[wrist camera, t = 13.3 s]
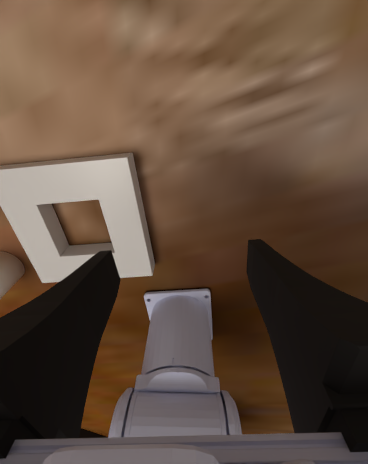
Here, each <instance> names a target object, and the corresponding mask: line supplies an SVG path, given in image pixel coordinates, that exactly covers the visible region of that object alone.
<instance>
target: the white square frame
mask: <svg viewBox="0 0 368 464" xmlns="http://www.w3.org/2000/svg"><path fill="white" fill-rule="evenodd" d="M97 199H99V202H100V205H101V208H102V212H103V215H104V218H105V221H106V225H107V228H108V231H109V235H110V238H111V241H112V242H111V243H98V244H85V245H72V246H69V244H68V241H67V239H66V237H65V234H64V232H63V230H62V227H61V225H60V222H59V220H58V218H57V215H56V213H55V210H54V208H53V206H52V203H63V202H74V201H86V200H97ZM0 206H1V208H2V210H3V211H4V213H5V215H6V217H7V219H8V221H9V222H10V224H11V226H12V228H13V230H14V232H15V233H16V235H17V237H18V239H19V241H20V243H21V244H22V246H23V248H24V250H25V252H26V254H27V255H28V257H29V259H30V261H31V263H32V265H33V266H34V268H35V270H36V272H37V274H38V276H39V277H40V279H41V281H42V283H48V282H60V281H61V280H63V279H64V278H66V277H67V276H68V275H70V274H71V273H72V272H73V271H75V270H76V269H77V268H79V267H80V266H81V265H82V264H84V263H85V262H86V261H87V260H89V259H90V258H91V257H92V256H94V255H95V254H96V253H98V252H99V251H107V250H111V251H112V254H113V257H114V260H115V264H116V267H117V270H118V273H119V276H120V278H124V277H139V276H153V271H154V266H155V261H154V256H153V252H152V247H151V242H150V237H149V232H148V227H147V222H146V217H145V212H144V207H143V202H142V197H141V192H140V187H139V182H138V177H137V172H136V167H135V162H134V157H133V153H122V154H112V155H102V156H92V157H82V158H72V159H62V160H52V161H42V162H32V163H22V164H12V165H1V166H0Z"/></svg>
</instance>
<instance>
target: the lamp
mask: <svg viewBox="0 0 368 464" xmlns="http://www.w3.org/2000/svg"><path fill="white" fill-rule="evenodd" d="M79 438H107V437H104V436H101V435H98V434H95V433H92V432H89V431H86V430H83V429H80V434H79Z"/></svg>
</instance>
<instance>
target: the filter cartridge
mask: <svg viewBox="0 0 368 464" xmlns="http://www.w3.org/2000/svg"><path fill="white" fill-rule="evenodd" d="M24 272H25V268H24V265H23V264H22V262H21V261H20V260H19V259H18V258H17V257H15V256H14V255H12V254H10V253H7V252H3V251H0V299H1V298H2V297H3V296H4V295H5V294H6V292H7V291H8V290H9V289H10V288H11V287H12V286H13V285H14V284H15V283H16V282H17V281H18V280H19V279H20V278H21V277H22V276H23V275H24Z"/></svg>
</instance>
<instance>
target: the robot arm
mask: <svg viewBox="0 0 368 464" xmlns="http://www.w3.org/2000/svg"><path fill="white" fill-rule="evenodd" d="M247 275H248V279H249V283H250V287H251V290H252V292H253V295H254V297H255V300H256V302H257V305H258V307H259V310H260V312H261V315H262V317H263V320H264V322H265V325H266V327H267V330H268V333H269V336H270V339H271V343H272V346H273V350H274V353H275V357H276V360H277V364H278V368H279V371H280V375H281V379H282V383H283V387H284V391H285V395H286V399H287V403H288V407H289V411H290V415H291V419H292V424H293V428H294V432H295V433H286V434H242V431H241V425H240V419H239V414H238V410H237V406H236V404H235V401H234V400H233V398H232V397H231V396H230V395H229V393H228V392H227V391H226V390H221V391H220V385H219V378H218V377H215V375H214V365H213V355H212V345H211V340H212V339H213V333H212V313H211V294H210V290H209V289H192V290H175V291H159V292H146V293H145V294H144V299H145V303H146V307H147V311H148V315H149V319H150V326H149V331H148V337H147V343H146V349H145V355H144V361H143V367H142V373H141V375H137V377H136V383H135V388H127V389H126V391H125V392H124V393H123V394H122V395H121V396H120V398H119V400H118V402H117V404H116V407H115V410H114V414H113V418H112V422H111V426H110V431H109V436H108V438H79V434H80V429H81V423H82V417H83V412H84V407H85V402H86V397H87V392H88V388H89V383H90V379H91V375H92V371H93V366H94V362H95V358H96V355H97V351H98V347H99V343H100V340H101V337H102V334H103V332H104V329H105V327H106V324H107V321H108V319H109V316H110V313H111V311H112V308H113V305H114V303H115V300H116V297H117V293H118V289H119V284H120V276H119V273H118V270H117V267H116V264H115V260H114V257H113V254H112V251H111V250H107V251H99V252H98V253H96V254H95V255H94V256H92V257H91V258H90V259H89V260H87V261H86V262H85V263H84V264H82V265H81V266H80V267H79V268H77V269H76V270H75V271H73V272H72V273H71V274H70V275H68V276H67V277H66V278H64V279H63V280H61V281H60V282H59V283H57V284H56V285H55V286H53V287H52V288H50V289H49V290H47V291H46V292H44V293H43V294H41V295H40V296H38V297H36V298H35V299H33V300H32V301H30V302H28V303H27V304H25V305H23V306H21V307H19V308H17V309H16V310H14V311H12V312H10V313H8V314H7V315H5V316H3V317H1V318H0V464H368V303H367V302H365V301H362V300H360V299H357V298H355V297H353V296H351V295H348V294H346V293H344V292H342V291H340V290H338V289H336V288H334V287H332V286H330V285H328V284H326V283H324V282H322V281H320V280H318V279H317V278H315V277H313V276H311V275H310V274H308V273H306V272H305V271H303V270H302V269H300V268H299V267H297V266H296V265H294V264H293V263H291V262H290V261H288V260H287V259H286V258H284V257H283V256H282V255H280V254H279V253H278V252H276V251H275V250H274V249H273V248H271V247H270V246H269V245H267V244H266V243H265V242H264V241H262V240H261V239H257V240H248V256H247ZM206 295H208V296H206Z"/></svg>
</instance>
